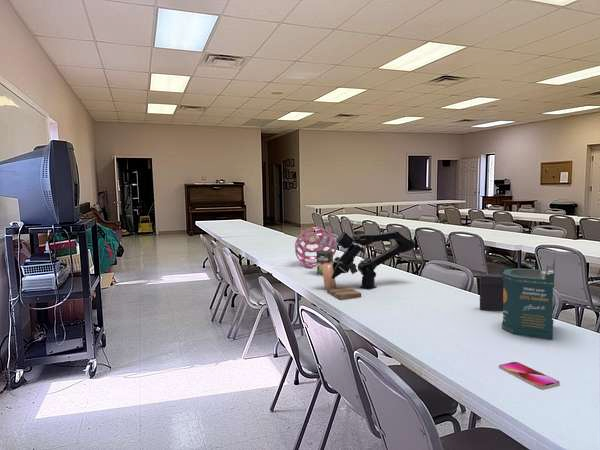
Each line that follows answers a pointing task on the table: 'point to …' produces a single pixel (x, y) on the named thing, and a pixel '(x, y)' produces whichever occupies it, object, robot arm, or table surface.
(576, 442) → the table surface
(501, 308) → the dark grey block
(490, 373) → the table surface
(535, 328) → the donation box
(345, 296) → the shelf board
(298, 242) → the pink openwork sphere
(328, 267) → the peach cylinder
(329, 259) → the coffee can
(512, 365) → the smartphone
